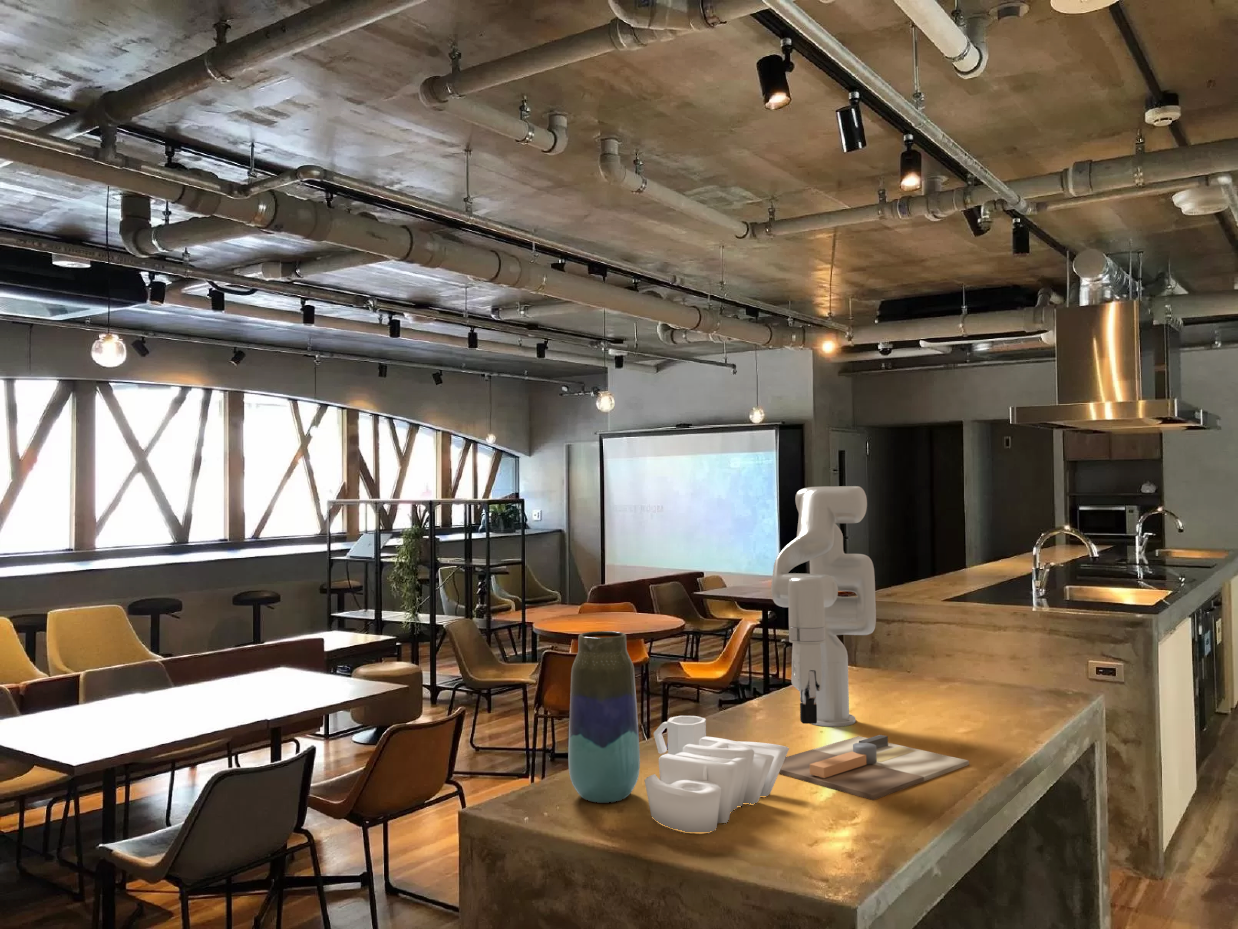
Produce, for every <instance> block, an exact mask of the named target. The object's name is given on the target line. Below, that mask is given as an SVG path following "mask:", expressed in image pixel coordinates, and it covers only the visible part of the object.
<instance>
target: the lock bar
mask: <svg viewBox="0 0 1238 929" xmlns="http://www.w3.org/2000/svg"><path fill="white" fill-rule="evenodd" d="M876 762H877V752H876V745H874V744H871V743H855V744H853V752H848V753H845V754H842V755H838V756H835V757H832V758H829V759H825V760H822V761H819V762H815V763H812V764H810V774H811V775H815V776H818V777H822V778H826V777H829V776H832V775H835V774H838V773H842V772H845V771H848V770H851V769H854V768H857V767H860V766H863V765H866V764H874V763H876Z"/></svg>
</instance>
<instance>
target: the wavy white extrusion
mask: <svg viewBox="0 0 1238 929" xmlns="http://www.w3.org/2000/svg"><path fill="white" fill-rule="evenodd" d="M789 750H790V747H788V746H784V745H781V744H780V745H779V744H775V743H768V742H767V743H766V742H759V741H757V742H756V741H739V740H737V741H735V740H732V739H728V738H721V737H713V736H706V737H703V738H701V739H700V740H699V745H693V744H687V745H685V746H684V747H683V752H680V753H678V754H676V755H671V754H668V753H663V754H662V755H661V756H660V757H658V770H659V772H658V773H659V777H658V776H657V774H655V773H654V774H651V775H648V776H647V777H646V778H645V779H644V785H645V790H646V794H647V800H648V806H649V811H650V815H651V816H652V817H653V818H654V819H655V820H656V821H658V822H659V823H661V824H663V825H665V826H668V827H670V828H673V829H678V830H682V831H685V832H710V831H714V830H715V829H716V828H718V824H719V823H726V824H727V822H729V821H730V815H731V813H730V812H732V811H733V810H734V809H736V810H737V809H738V808H737V806H742V807H743V805H744V804H743V803H749V804H750V803H751V804H754V803H757V802H758V803H759V800H760V798H761V797H760V796H768V795H769V794H771V792H772V790H773V788H774V786H775V784H776V781H777V778H778V776H779V775H780V774H779V772H780V769H781V767H782V764H783V762H784V760H785V757H787V755H788V753H789ZM769 796H770V795H769ZM769 796H768V797H769ZM758 803H757V804H758ZM733 812H734V811H733ZM733 812H732V813H733ZM652 817H651V818H652ZM728 820H729V821H728ZM716 830H717V829H716ZM716 830H715V831H716ZM715 831H714V832H715Z"/></svg>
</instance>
